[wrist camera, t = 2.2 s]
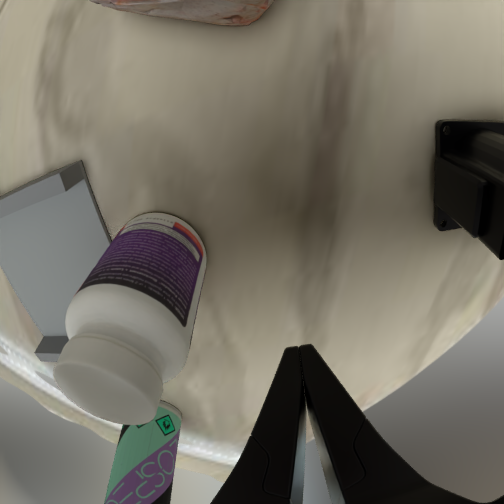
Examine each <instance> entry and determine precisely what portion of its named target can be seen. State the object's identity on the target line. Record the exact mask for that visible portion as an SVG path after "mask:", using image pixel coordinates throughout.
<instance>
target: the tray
mask: <svg viewBox="0 0 504 504" xmlns="http://www.w3.org/2000/svg"><path fill="white" fill-rule="evenodd" d="M111 242H112V241H111V239H110V236H109V234H108V232H107V229H106V227H105V224H104V222H103V219H102V217H101V214H100V212H99V209H98V206H97V204H96V201H95V198H94V196H93V193H92V190H91V187H90V185H89V182H88V179H87V176H86V173H85V170H84V167H83V164H82V161H81V160H80V161H78V162H75V163H73V164H70V165H68V166H65V167H63V168H60V169H58V170H56V171H53V172H51V173H49V174H46V175H44V176H42V177H40V178H38V179H35V180H33V181H31V182H29V183H27V184H25V185H23V186H21V187H18V188H16V189H14V190H12V191H10V192H8V193H6V194H4V195H3V196H1V197H0V266H1V268H2V270H3V272H4V273H5V275H6V277H7V279H8V281H9V282H10V284H11V286H12V288H13V289H14V291H15V293H16V294H17V296H18V298H19V299H20V301H21V303H22V304H23V306H24V307H25V309H26V311H27V312H28V314H29V315H30V317H31V318H32V320H33V321H34V323H35V324H36V326H37V327H38V329H39V330H40V332H41V333H42V334H43V336H44V337H43V339H42V341H41V342H40V344H39V346H38V348H37V349H36V351H35V354H36V356H37V357H38V358H39V359H40V361H45V362H57V361H58V359H59V357H60V354H61V352H62V350H63V348H64V346H65V345H66V343H67V342H68V341H69V338H68V336H67V332H66V326H65V319H66V313H67V309H68V307H69V305H70V303H71V301H72V299H73V297H74V295H75V294H76V293H77V291H78V290H79V288H80V287H81V285H82V284H83V282H84V281H85V280H86V278H87V277H88V275H89V274H90V272H91V271H92V269H93V268H94V267H95V265H96V264H97V262H98V261H99V259H100V258H101V257H102V255H103V254H104V252H105V251H106V249H107V248H108V247H109V245H110V244H111Z"/></svg>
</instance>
